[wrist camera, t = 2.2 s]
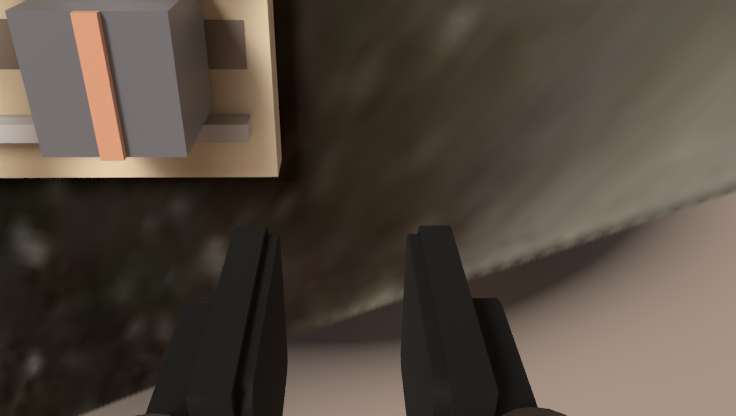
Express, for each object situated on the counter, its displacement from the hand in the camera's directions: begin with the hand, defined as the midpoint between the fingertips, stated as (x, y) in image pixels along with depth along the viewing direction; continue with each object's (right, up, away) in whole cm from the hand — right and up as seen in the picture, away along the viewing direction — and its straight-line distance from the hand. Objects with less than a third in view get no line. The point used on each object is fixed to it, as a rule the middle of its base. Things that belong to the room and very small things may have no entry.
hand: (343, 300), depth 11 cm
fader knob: (-9, +8, +14) cm, 19 cm away
